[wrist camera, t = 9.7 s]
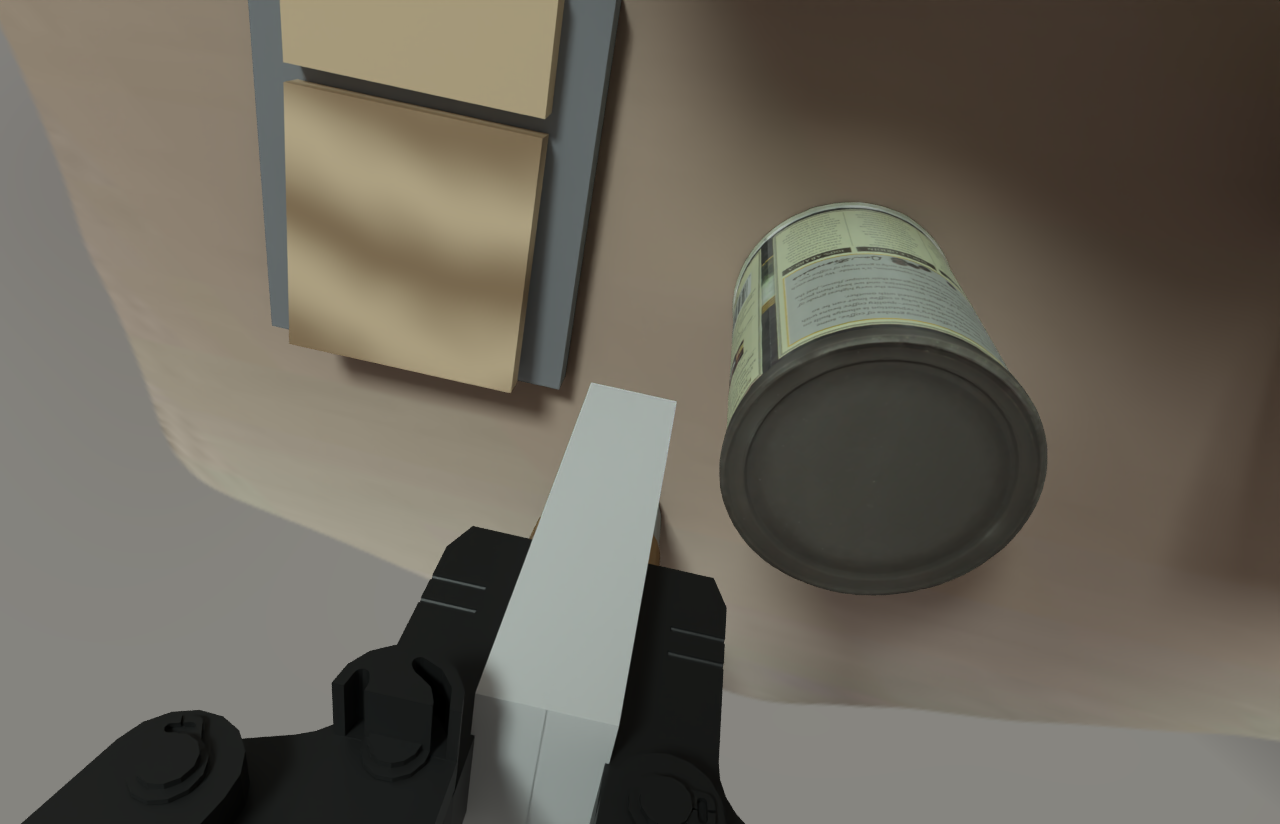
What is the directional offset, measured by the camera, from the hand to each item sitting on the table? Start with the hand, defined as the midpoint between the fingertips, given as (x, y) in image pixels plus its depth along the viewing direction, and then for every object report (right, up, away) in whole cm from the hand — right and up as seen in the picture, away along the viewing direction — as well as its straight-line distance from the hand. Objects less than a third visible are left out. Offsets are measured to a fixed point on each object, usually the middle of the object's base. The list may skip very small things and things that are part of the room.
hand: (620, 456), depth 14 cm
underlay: (-9, +12, +23) cm, 27 cm away
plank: (-10, +9, +23) cm, 26 cm away
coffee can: (+10, +6, +24) cm, 27 cm away
